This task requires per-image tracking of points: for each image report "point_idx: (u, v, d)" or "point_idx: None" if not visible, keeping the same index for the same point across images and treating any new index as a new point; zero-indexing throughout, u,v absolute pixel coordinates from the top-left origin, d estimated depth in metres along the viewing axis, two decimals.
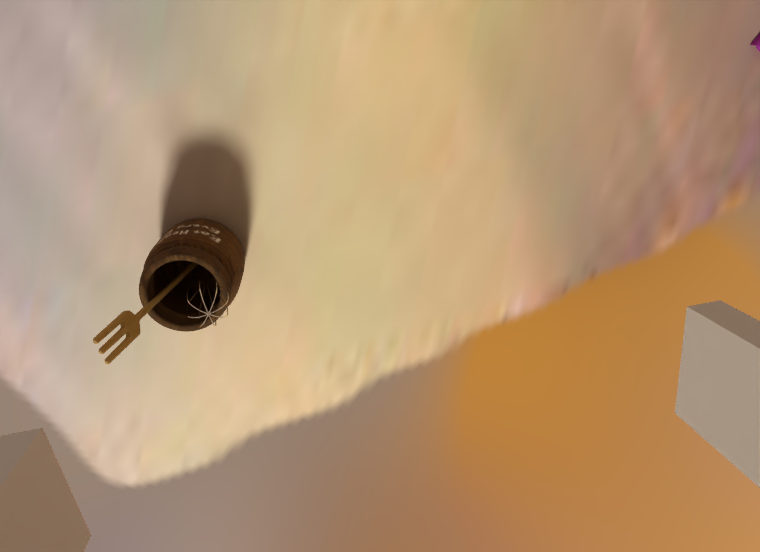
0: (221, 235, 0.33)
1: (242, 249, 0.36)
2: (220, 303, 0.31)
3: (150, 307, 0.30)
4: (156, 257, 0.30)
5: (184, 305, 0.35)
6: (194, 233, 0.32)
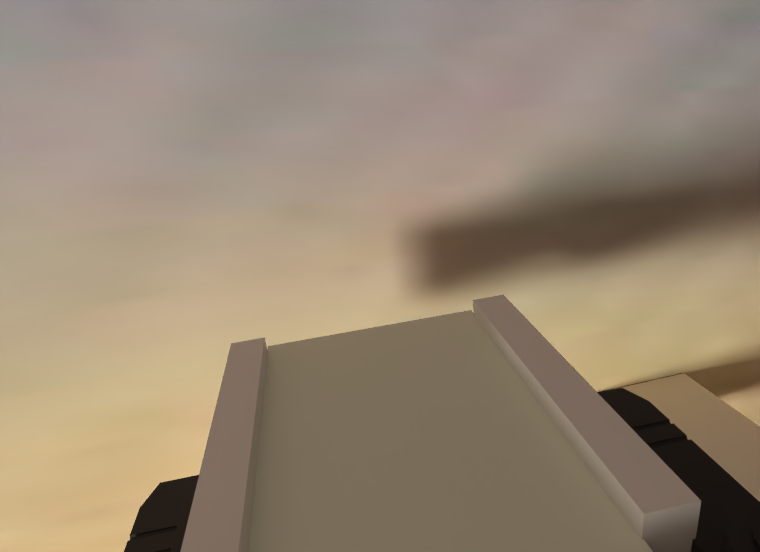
0: None
1: None
2: None
3: None
4: None
5: None
6: None
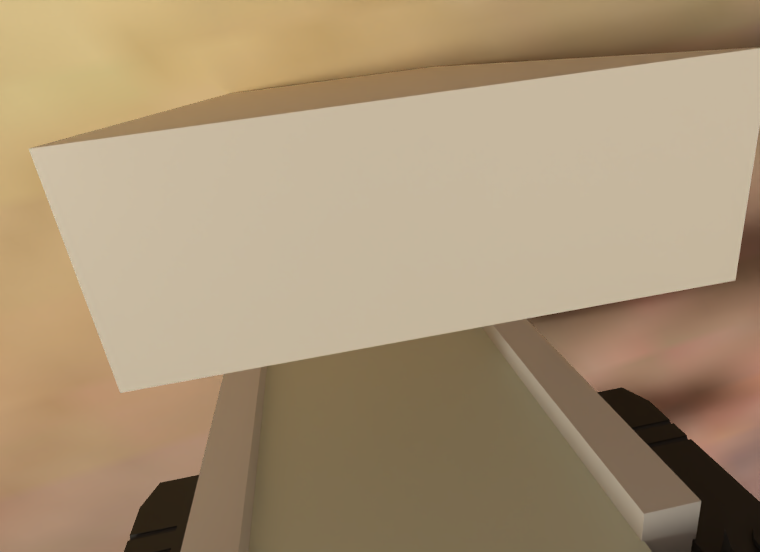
0: None
1: None
2: None
3: None
4: None
5: None
6: None
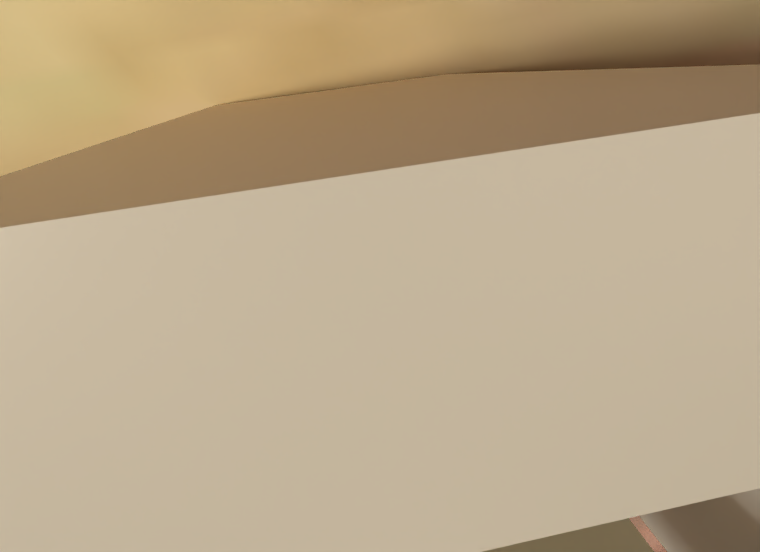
0: None
1: None
2: None
3: None
4: None
5: None
6: None
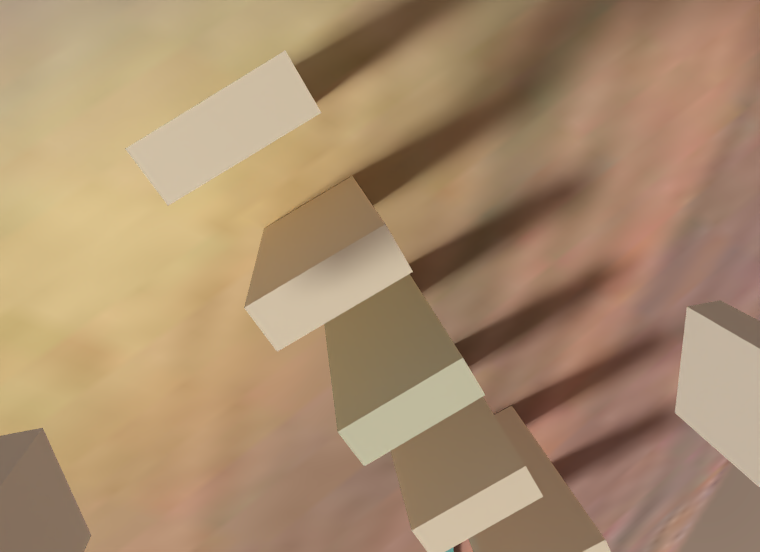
0: None
1: None
2: None
3: None
4: None
5: None
6: None
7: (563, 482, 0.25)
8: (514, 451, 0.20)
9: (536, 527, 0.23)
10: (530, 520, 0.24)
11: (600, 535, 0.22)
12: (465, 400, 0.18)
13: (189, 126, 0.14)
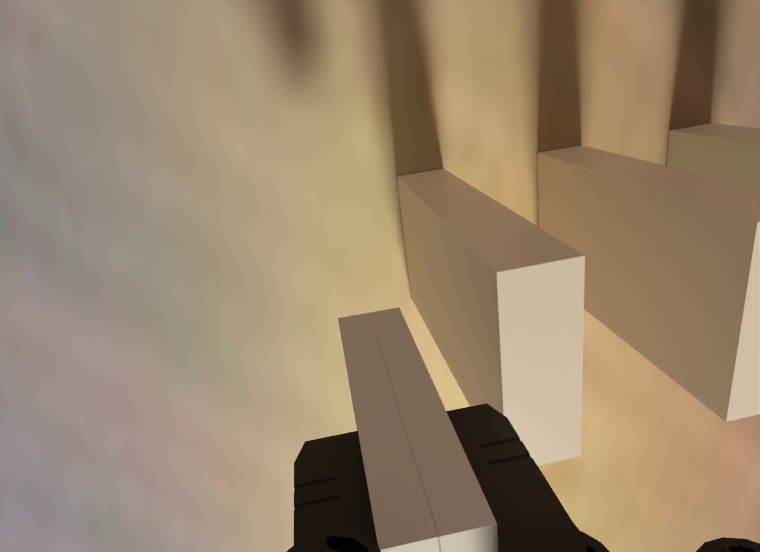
0: None
1: None
2: None
3: None
4: None
5: None
6: None
7: None
8: None
9: None
10: None
11: None
12: None
13: (518, 407, 0.11)
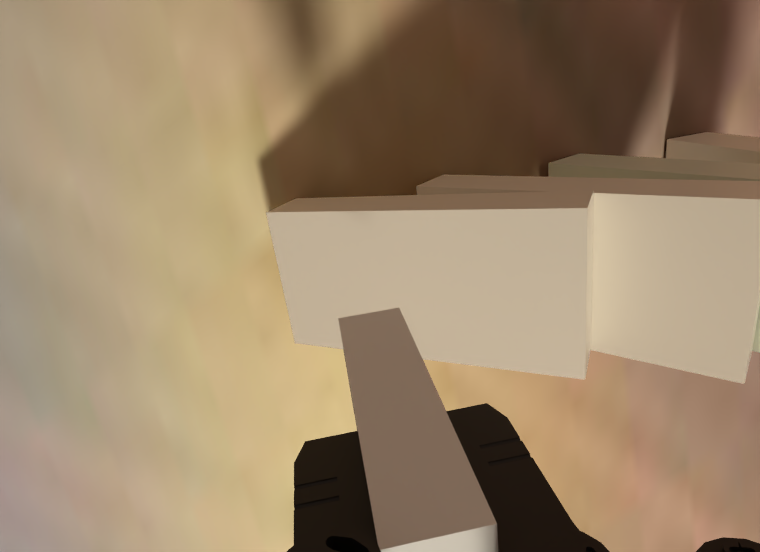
0: None
1: None
2: None
3: None
4: None
5: None
6: None
7: None
8: None
9: None
10: None
11: None
12: None
13: (587, 318, 0.14)
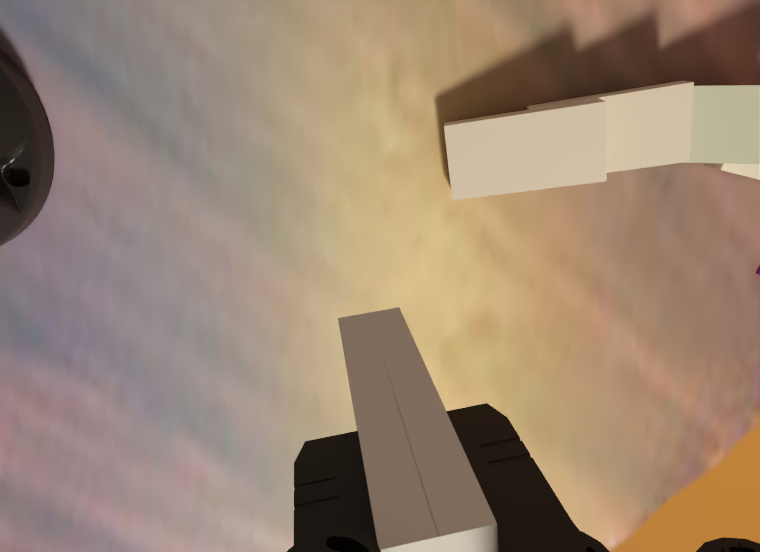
0: None
1: None
2: None
3: None
4: None
5: None
6: None
7: None
8: None
9: None
10: None
11: None
12: None
13: (605, 152, 0.33)
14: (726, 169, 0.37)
